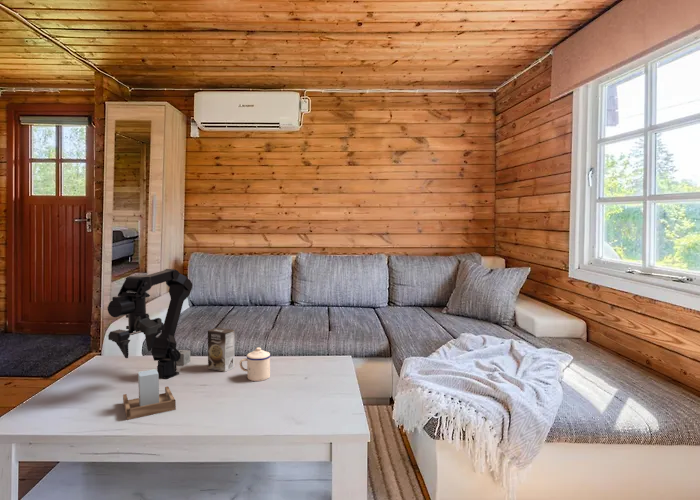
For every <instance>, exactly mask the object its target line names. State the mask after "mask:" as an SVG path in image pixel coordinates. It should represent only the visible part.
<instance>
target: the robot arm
mask: <svg viewBox="0 0 700 500" xmlns="http://www.w3.org/2000/svg"><path fill="white" fill-rule="evenodd" d="M162 283H165V285H166V286H168V293H169V297H170V300H169V304H168V307H167V311H166V315H165V318H164V322H162V321H163V320H162V318H160V317H156V318H153V319H151V318H150V314H149V313H147V306H146V305H147V302H146V301H147V298H149V297H151V295H150V293H147V291H150V290H151V288H152V287H154V286H156V285H159V284H162ZM192 289H193V282H192V281H191V280H190V279H189V278H188V277H187V276H185V275H183V274H182V273H181V272H180V271H178V270H177V269H175V268H171V269H170V268H165V269H164V270H160V271H156V272H153V273H150V274H145V275H129V276H127V277H126V278H125V280H124V281H123V284H122V286H121V287H120V290H119V292H118V294H117V296H113V297H112V300H111V301H110V302H108V306H107V312H108V314H109V315H110V316H111V317H113V318H118V317H123V316H125V318H127V319H128V325H127V326H125V329H126V330H125V329H116V330H112V331H109V332H108V335H107V337H108V340H109V341H111V342H114V343H116V345H117V346H118V348H119V350H120V351H121V353H122V355H123V357H124V358H125V359H129V343H130V341H131V339H130V337H131V336H134V335H137V334H140V333H142V334H143V335H144V336H145V343H146V349H147V351H148V352H151V355H152V357H153V361H155V362H156V361H157V366H156V369H157V371H158V374H159V378H161V379H165V380H167V379H170V378H173V377H175V376H178V375H180V372H179V371H177V370H178V369H177V365H176V361H178V360H179V359H180V356H181V353H180V352H179V349H177V340H176V338H175V335H176V331H177V327H178V323H179V319H180V316H181V312H182V310H183V305H184V302H185V300H187V299H188V297H189V296H190V294H191V292H192Z"/></svg>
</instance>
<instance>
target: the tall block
mask: <svg viewBox="0 0 700 500" xmlns="http://www.w3.org/2000/svg"><path fill="white" fill-rule="evenodd" d="M159 380H160V377H159V374H158V371H157V368H155V369H148V370H141V371H138V372H137V381H138V382H137V383H138V398H139V405H140V406H145V405H150V404H155V403H159V394H160V383H159V382H160V381H159Z"/></svg>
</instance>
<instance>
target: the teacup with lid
mask: <svg viewBox="0 0 700 500" xmlns="http://www.w3.org/2000/svg"><path fill="white" fill-rule="evenodd" d="M239 361H240V362H239V367H240V369H241V371H243V372H247V375H246V377H247V379H248V380H249V381H252V382H261V381H265V380H268V379H270V376H271V353H270V352H269V351H266V350H264V349H262V348H261V347H256V348H255V349H254V350H253V351H251V352H249V353H247V355H246V358H242V359H241V360H239ZM245 361H246V363H247V365H246V367H247V368H245V367H244V366H243V362H245Z"/></svg>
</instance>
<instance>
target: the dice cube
mask: <svg viewBox="0 0 700 500" xmlns="http://www.w3.org/2000/svg"><path fill="white" fill-rule="evenodd" d="M178 351H179V352H180V353H181V356H180V359H179V360H178V361H176V366H186V365H187V364H189V363H191V350H189V349H188V350H187V349H178Z"/></svg>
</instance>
